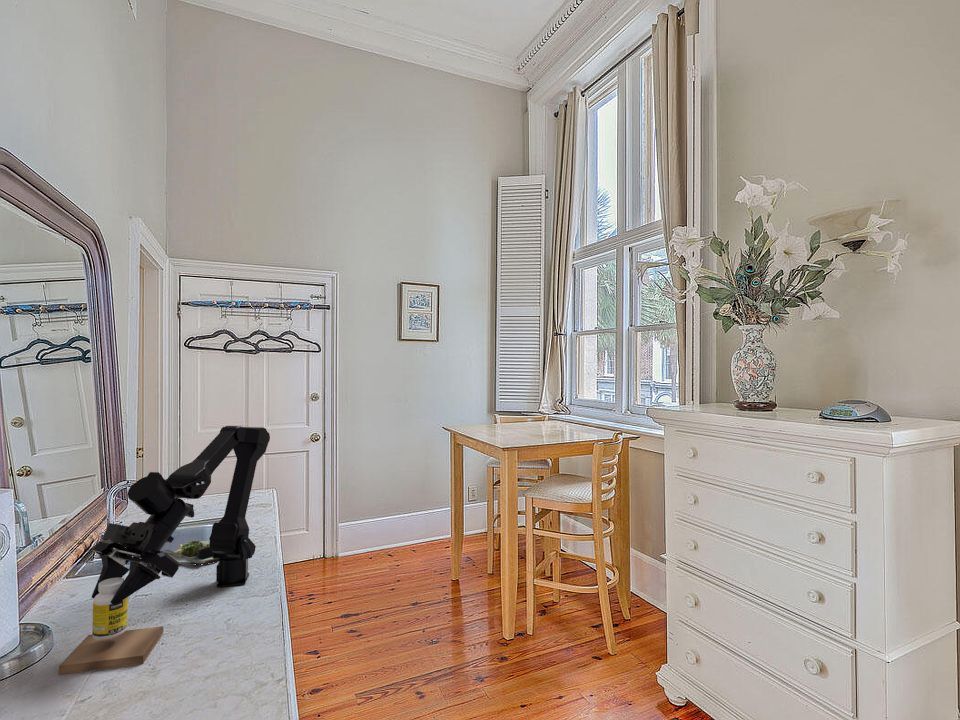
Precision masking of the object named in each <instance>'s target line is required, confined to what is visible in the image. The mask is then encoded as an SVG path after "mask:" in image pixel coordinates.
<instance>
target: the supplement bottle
mask: <svg viewBox="0 0 960 720" xmlns="http://www.w3.org/2000/svg"><path fill="white" fill-rule="evenodd" d="M124 580H125V578H124V577H122V578H110V579H106V580H104V581H101V582H100V583H99V585H98V592H99V594H97V595H96V596H95V598H94V599H93V601H92V602H93V603H92V625H91V626H92V630H91V633H92V636H93V638H94V639H98V640H104V639H110V638H114V637H116V636H118V635H120V634H122V633H123V632H125V631H126V630H128V612H129V610H128V607H129V596H128V597H127V598H125V599H124V600H122V601H121V602H119V603H118V604H117V605H113V604H112V603H111V600H112V599H113V597H114V595H115V594H116V592H117V591H118V589H119V588H120V586H121V585H122V583H123V582H124Z"/></svg>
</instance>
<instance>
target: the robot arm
mask: <svg viewBox="0 0 960 720" xmlns="http://www.w3.org/2000/svg"><path fill="white" fill-rule="evenodd" d="M270 439H271V435H270V433H269V432H268V430H267V429H266V428H265V427H261V426H258V427H257V426H254V427H253V426H251V427H250V426H241V425H225V426H223V427H221V428H220V430H219V433H218V434H217V435H216V436H215V437H214V438H213V439H212V440H211V442H210V443H208V445H207V446H206V447H205V448H204V449H203V450H202V451H201V452H200V454H198V456H197V457H196V458H195V459H194V460H193V461H191V462H188V463H187V464H184V465H182V466H179V467H178V468H177V469H176V470H175V471H173V472H172V473H171V474H169V476H168V477H167V478H166V479H165V478H164V477H163V475H162V474H161V473H160V472H159V471H150V472H148V474H147V476H144V477H142V478H140V479H138V480H137V481H136V482H134V483H133V484H132V485H130V487H129V488H128V490H127V498H128V499H129V500H130V501H131V502H132V503H133V504H135V506H137V507H138V508H139V509H141V511H143V513H145V514H146V515H149V517H147V519H146V521H145V522H144V521H139V522H131V524H130V525H129V526H127V525H122V524H118V523H111V522H108V525H107V527H106V529H105V531H104V533H103V535H102V537H101V540H99V541H98V542H97V544H96V545H94V547H93V549H92V552H94V553H95V554H96V555H98V556H99V559H100V560H101V564H102V568H101V571H100V574H99V577H98V579H97V583H96V584H95V587H94V590H93V592H92V594H91V599H93V600H94V598H95V596H96V595H97V594H99V592H98V585H99V583H100V582H101V581H104V580H106V579H110V578H124V576H125V575H126V574H127V573H128V574H127V576H126V577H125V578H124V582H123V583H122V585H121V586H120V588H119V589H118V591H117V592H116V594H115V595H114V597H113V599H112V600H111V603H112V604H113V605H117V604H118V603H119V602H121V601H122V600H124V599H125V598H127V597H128V598H129V597H130V596H132V595H133V594H135V593H136V592H138V591H139V590H141V589H142V588H144V587H145V586H147V585H149V584H150V583H152V582H154V581H155V580H160V579H161V576H160V573H161V575H162V576H164V577H167V578H171V579H172V578H174V576H175V575H176V573H177V572H178V571H179V566H180V565H179V562H178V561H176V560H175V559H173V558H172V557H170V556H169V555H168V554H166V553H165V552H162V551H163V550H162V549H163V547H164V546H165V545H166V543H172V542H173V541H174V540H175V537H173V534H174V533H175V531H176V530H177V528H178V527H179V525H180V524H181V523H182V521H183V520H184V518H185V517H188V518H190V519H191V518H194V517H195V511H194V506H195V505H194V504H193V503H189V502H185V501H184V500H183V499H187V500H189V499H190V500H191V499H192V500H198V499H200V498H202V496H204V494H205V493H206V491H208V490H207V489H208V488H209V487H210V485H211V483H212V475H213V473H214V472H215V470H216V469H217V468H218V467H219V466H220V464H221V463H222V462H223V461H224V460H225V459H226V458H227V457H228V455H230V454H231V452H232V451H233V452H234V455H235V457H236V463H235V467H234V470H233V471H234V472H233V474H232V479H231V484H230V489H229V493H228V497H227V501H226V505H225V506H226V507H225V510H224V514H223V516H222V518H221V519H220V520H219V521H218V522H214V523H212V526H211V527H212V528H211V532H210V533H211V534H210V536H209V538H208V540H209V541H208V542H209V545H210V549H211V553H212V557H213V559H216V558H218V559H219V562H217V565H216V570H215V571H216V574H215V575H216V576H215V579H216V580H215V582H216V583H217V584H216V587H217V588H221V587H230V586H231V587H232V586H242V585H246V584H247V581H248V578H249V576H250V572H249V559H251V558H253V556H254V555H255V552H256V547H257V546H256V544H255V543H254V542H253V541H252V540H251V539H250V538H249V536H250V535H249V534H250V527H249V525H248V522H247V519H246V514H247V511H248V506H249V501H250V497H251V491H252V487H253V482H254V478H255V474H256V470H257V469H256V468H257V464H258V461H259V460H260V459H261V458H262V457H263V456H264V454H265V453H266V452H267V448H268V445H269V443H270ZM128 563H129V568H128V567H127V566H125V565H127V564H128Z"/></svg>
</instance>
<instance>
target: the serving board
mask: <svg viewBox="0 0 960 720" xmlns="http://www.w3.org/2000/svg"><path fill="white" fill-rule="evenodd" d="M163 635H164V625H163V626H162V625H161V626H153V627H146V628H144V627H143V628H135V629H126V631H125V632H123V633H122V634H120V635H118V636H116V637H114V638H110V639H104V640H98V639H94V638H93V636H92V634H88V635H87V636H85V638H84V639H83V640H81V642H80V643H79V644H78V645H77V646H76V647H75V648H74V649H73V650H72V651H71V652H70V653H69V655H68V656H67V657H66V658H65V659H64V660H63V661H62V662H61V663H60V664H58V674H60V675H66V674H67V675H68V674H74V673H75V674H76V673H81V672H82V673H83V672H90V671H91V672H92V671H98V670H106V669H113V668H119V667H122V668H123V667H127V666H128V667H129V666H135V665H144V663H145V661H146V660H147V659H148V657H149V656H150V655H151V653H152V651H153V649H154V648H155V647H156V646H157V644H158V642H159V641H160V639H161V638H162V636H163Z"/></svg>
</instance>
